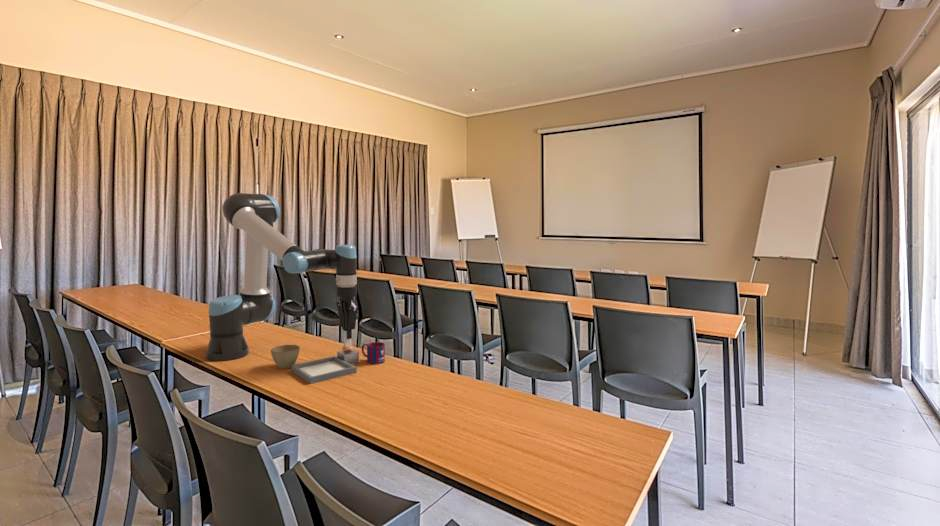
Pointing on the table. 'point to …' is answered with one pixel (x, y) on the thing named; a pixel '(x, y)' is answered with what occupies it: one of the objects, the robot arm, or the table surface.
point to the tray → (323, 369)
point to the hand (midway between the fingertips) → (347, 346)
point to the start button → (347, 349)
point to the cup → (375, 352)
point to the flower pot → (285, 355)
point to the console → (349, 356)
